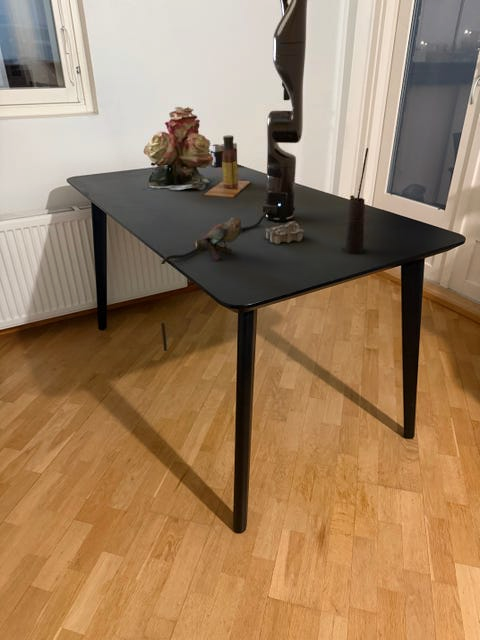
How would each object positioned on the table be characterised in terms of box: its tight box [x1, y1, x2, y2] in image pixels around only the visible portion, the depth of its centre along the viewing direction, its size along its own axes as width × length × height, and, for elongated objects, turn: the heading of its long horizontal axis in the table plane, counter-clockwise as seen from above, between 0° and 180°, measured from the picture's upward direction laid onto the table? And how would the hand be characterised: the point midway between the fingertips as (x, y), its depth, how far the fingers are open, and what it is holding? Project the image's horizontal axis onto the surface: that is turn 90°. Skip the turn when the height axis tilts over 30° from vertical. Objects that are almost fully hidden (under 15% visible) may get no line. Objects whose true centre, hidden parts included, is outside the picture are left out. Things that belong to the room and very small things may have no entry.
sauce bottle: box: [221, 134, 239, 188], centre depth 186 cm, size 7×6×20 cm
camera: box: [209, 142, 238, 168], centre depth 230 cm, size 14×8×10 cm, turn 131°
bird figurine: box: [195, 216, 243, 261], centre depth 126 cm, size 13×10×20 cm
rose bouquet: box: [143, 106, 213, 191], centre depth 191 cm, size 26×29×30 cm
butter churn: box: [344, 147, 369, 255], centre depth 125 cm, size 9×10×28 cm
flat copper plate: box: [204, 180, 251, 199], centre depth 190 cm, size 24×12×1 cm, turn 163°
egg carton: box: [264, 220, 305, 245], centre depth 139 cm, size 11×8×4 cm
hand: (289, 99), depth 165 cm, fingers open, 8 cm apart
